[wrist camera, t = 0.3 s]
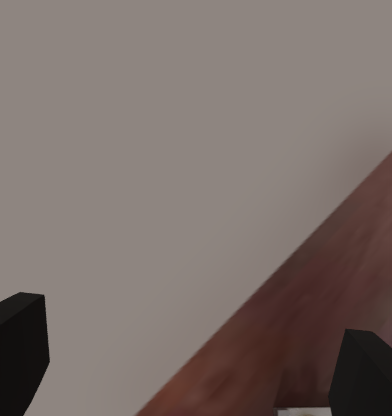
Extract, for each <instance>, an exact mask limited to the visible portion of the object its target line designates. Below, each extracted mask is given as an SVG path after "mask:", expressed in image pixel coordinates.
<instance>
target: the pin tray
mask: <svg viewBox="0 0 392 416" xmlns="http://www.w3.org/2000/svg"><path fill="white" fill-rule="evenodd" d="M273 414H274V416H332V414H331V409H330V407H284V408H273Z"/></svg>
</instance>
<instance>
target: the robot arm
mask: <svg viewBox="0 0 392 416" xmlns="http://www.w3.org/2000/svg"><path fill="white" fill-rule="evenodd" d="M46 322H47V321H46V308H45V297H44V295H41V294H32V293H24V292H19V293H17V294H15V295H13V296H11V297H9V298H7V299H5V300H3V301H1V302H0V416H23V415H24V413H25V411H26V410H27V408H28V407H29V405H30V403H31V402H32V399H33V397H34V395H35V393H36V391H37V389H38V387H39V385H40V383H41V381H42V378H43V376H44V374H45V372H46V369H47V367H48V365H49V362H50V358H49V347H48V335H47V334H48V333H47V323H46ZM328 398H329V403H330V409H331V414H332V416H392V348H391V347H390V346H389V345H388V344H386V343H385V342H384V341H383V340H382V339H381V338H380V337H378V336H377V335H376V334H375V333H373V332H370V331H362V330H353V329H345V333H344V337H343V341H342V345H341V348H340V352H339V356H338V360H337V364H336V368H335V372H334V375H333V379H332V383H331V387H330V391H329V395H328Z"/></svg>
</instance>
